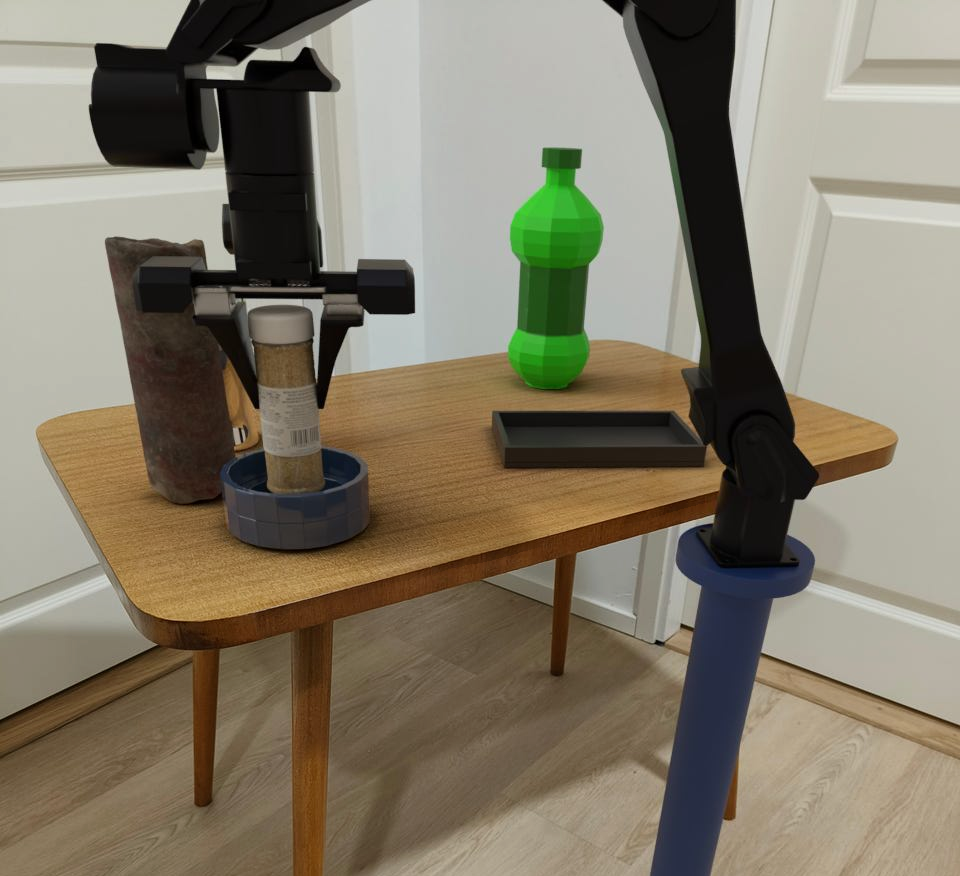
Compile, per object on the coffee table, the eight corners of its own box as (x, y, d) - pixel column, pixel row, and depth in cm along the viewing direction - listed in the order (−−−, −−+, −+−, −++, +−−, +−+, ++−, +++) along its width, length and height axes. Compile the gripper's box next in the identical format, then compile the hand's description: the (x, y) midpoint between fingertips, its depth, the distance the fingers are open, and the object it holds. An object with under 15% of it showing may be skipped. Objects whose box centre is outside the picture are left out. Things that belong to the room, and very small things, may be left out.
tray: (703, 466, 85) (707, 446, 84) (504, 467, 83) (505, 447, 82) (671, 429, 95) (674, 410, 93) (491, 429, 93) (492, 410, 92)
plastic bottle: (562, 369, 114) (579, 146, 101) (604, 391, 106) (628, 151, 93) (491, 375, 111) (499, 145, 98) (529, 399, 102) (543, 151, 89)
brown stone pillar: (134, 485, 77) (87, 232, 67) (211, 466, 81) (179, 226, 71) (175, 512, 72) (132, 245, 62) (255, 491, 77) (227, 238, 66)
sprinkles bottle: (316, 474, 72) (302, 301, 66) (333, 494, 69) (320, 313, 62) (260, 482, 71) (240, 305, 64) (274, 503, 67) (255, 317, 60)
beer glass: (278, 439, 88) (263, 278, 80) (226, 459, 83) (204, 288, 75) (227, 425, 91) (209, 269, 83) (174, 444, 86) (149, 278, 78)
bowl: (369, 552, 67) (367, 496, 65) (217, 554, 66) (209, 497, 64) (370, 495, 77) (368, 444, 74) (237, 496, 76) (231, 445, 73)
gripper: (409, 167, 66) (412, 378, 74) (150, 161, 64) (182, 378, 73) (414, 179, 57) (416, 420, 65) (110, 172, 55) (152, 421, 63)
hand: (290, 407), depth 67 cm, fingers closed on sprinkles bottle, 4 cm apart
